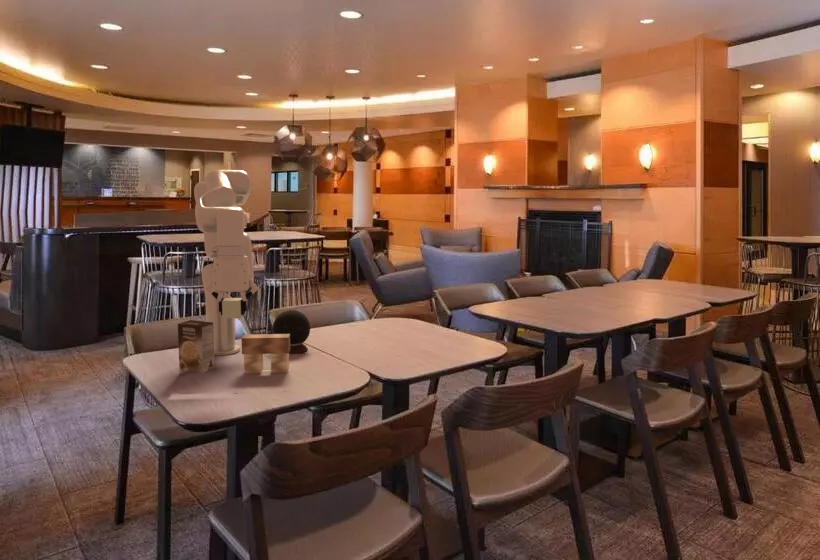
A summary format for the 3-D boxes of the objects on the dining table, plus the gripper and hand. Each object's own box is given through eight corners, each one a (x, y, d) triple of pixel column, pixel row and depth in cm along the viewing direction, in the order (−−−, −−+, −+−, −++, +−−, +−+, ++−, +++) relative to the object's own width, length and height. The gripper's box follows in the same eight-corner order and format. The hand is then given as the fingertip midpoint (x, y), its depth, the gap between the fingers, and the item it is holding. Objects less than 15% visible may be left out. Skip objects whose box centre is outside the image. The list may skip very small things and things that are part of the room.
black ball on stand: (273, 357, 209) (272, 314, 207) (272, 348, 222) (271, 307, 220) (312, 354, 213) (311, 312, 211) (309, 346, 225) (308, 306, 223)
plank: (241, 354, 184) (241, 338, 184) (244, 350, 189) (244, 334, 189) (288, 353, 186) (288, 337, 185) (290, 349, 190) (290, 333, 190)
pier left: (244, 373, 185) (243, 354, 184) (247, 369, 190) (246, 350, 189) (261, 373, 185) (260, 354, 185) (263, 368, 190) (262, 350, 190)
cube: (222, 318, 173) (222, 301, 173) (226, 314, 178) (225, 298, 178) (240, 318, 174) (240, 300, 173) (243, 314, 179) (243, 297, 178)
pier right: (271, 372, 186) (270, 353, 185) (273, 368, 191) (272, 349, 190) (287, 372, 186) (287, 353, 185) (289, 368, 191) (288, 349, 190)
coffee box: (178, 374, 188) (175, 323, 186) (192, 368, 194) (189, 319, 192) (203, 377, 185) (200, 325, 183) (216, 371, 191) (214, 321, 189)
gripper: (197, 253, 169) (199, 317, 171) (259, 252, 171) (261, 316, 173) (203, 250, 176) (205, 312, 179) (263, 250, 178) (264, 311, 180)
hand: (233, 313), depth 176 cm, fingers closed on cube, 4 cm apart
